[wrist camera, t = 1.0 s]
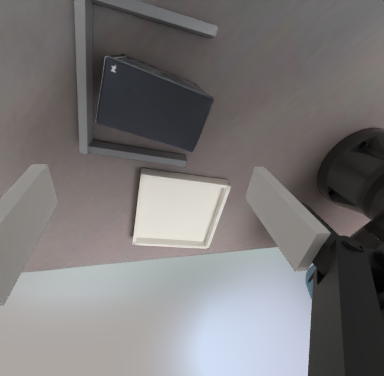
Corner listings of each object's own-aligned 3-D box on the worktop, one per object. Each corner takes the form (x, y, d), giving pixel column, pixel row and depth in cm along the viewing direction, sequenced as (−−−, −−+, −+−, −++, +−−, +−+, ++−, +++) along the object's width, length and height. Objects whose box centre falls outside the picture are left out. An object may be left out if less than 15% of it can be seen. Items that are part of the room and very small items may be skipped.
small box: (111, 104, 29) (91, 125, 20) (120, 52, 26) (102, 49, 17) (183, 129, 32) (193, 155, 24) (198, 84, 29) (216, 96, 21)
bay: (213, 28, 26) (219, 25, 24) (184, 160, 35) (186, 168, 32) (82, -13, 23) (73, -22, 20) (85, 145, 32) (79, 153, 29)
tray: (227, 179, 38) (231, 186, 36) (206, 241, 46) (208, 248, 44) (141, 167, 35) (140, 174, 33) (133, 236, 42) (132, 244, 40)
